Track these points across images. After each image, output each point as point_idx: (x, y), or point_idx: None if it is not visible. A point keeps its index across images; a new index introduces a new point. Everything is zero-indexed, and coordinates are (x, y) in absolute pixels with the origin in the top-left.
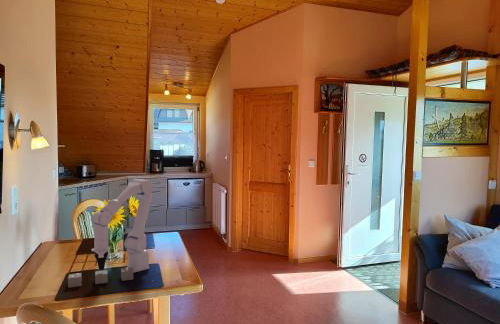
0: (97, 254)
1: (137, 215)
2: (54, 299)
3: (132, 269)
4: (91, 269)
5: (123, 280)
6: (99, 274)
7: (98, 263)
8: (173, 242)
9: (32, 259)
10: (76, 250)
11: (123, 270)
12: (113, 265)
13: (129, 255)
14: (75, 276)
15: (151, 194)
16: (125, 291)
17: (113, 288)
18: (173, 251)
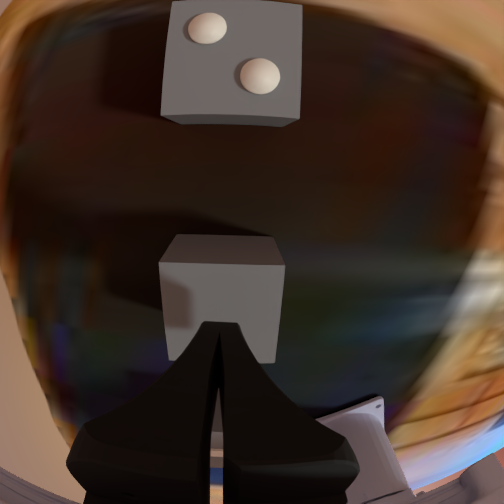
0: (135, 494)
1: None
2: (38, 15)
3: (213, 465)
4: (482, 221)
5: None
6: (169, 300)
7: (176, 369)
8: (480, 455)
9: None
10: None
11: (211, 439)
12: (463, 338)
13: (350, 495)
14: (198, 58)
15: None
16: (46, 369)
17: (80, 333)
18: (424, 478)
